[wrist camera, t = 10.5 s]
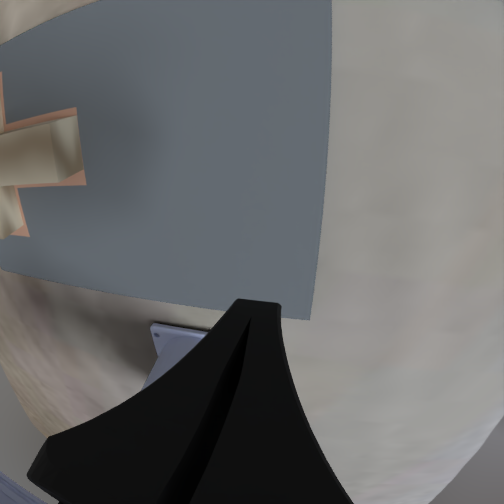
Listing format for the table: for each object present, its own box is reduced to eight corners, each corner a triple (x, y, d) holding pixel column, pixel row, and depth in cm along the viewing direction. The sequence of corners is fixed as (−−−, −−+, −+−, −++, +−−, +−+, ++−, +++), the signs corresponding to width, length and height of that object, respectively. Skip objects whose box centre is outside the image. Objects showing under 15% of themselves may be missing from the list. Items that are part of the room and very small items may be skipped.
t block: (95, 229, 20) (73, 248, 18) (1, 223, 22) (-18, 236, 20) (73, 49, 14) (44, 50, 12) (-22, 89, 16) (-45, 96, 14)
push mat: (310, 310, 21) (309, 320, 20) (7, 264, 26) (1, 270, 25) (329, -22, 11) (330, -28, 10) (-31, 68, 16) (-39, 70, 15)
